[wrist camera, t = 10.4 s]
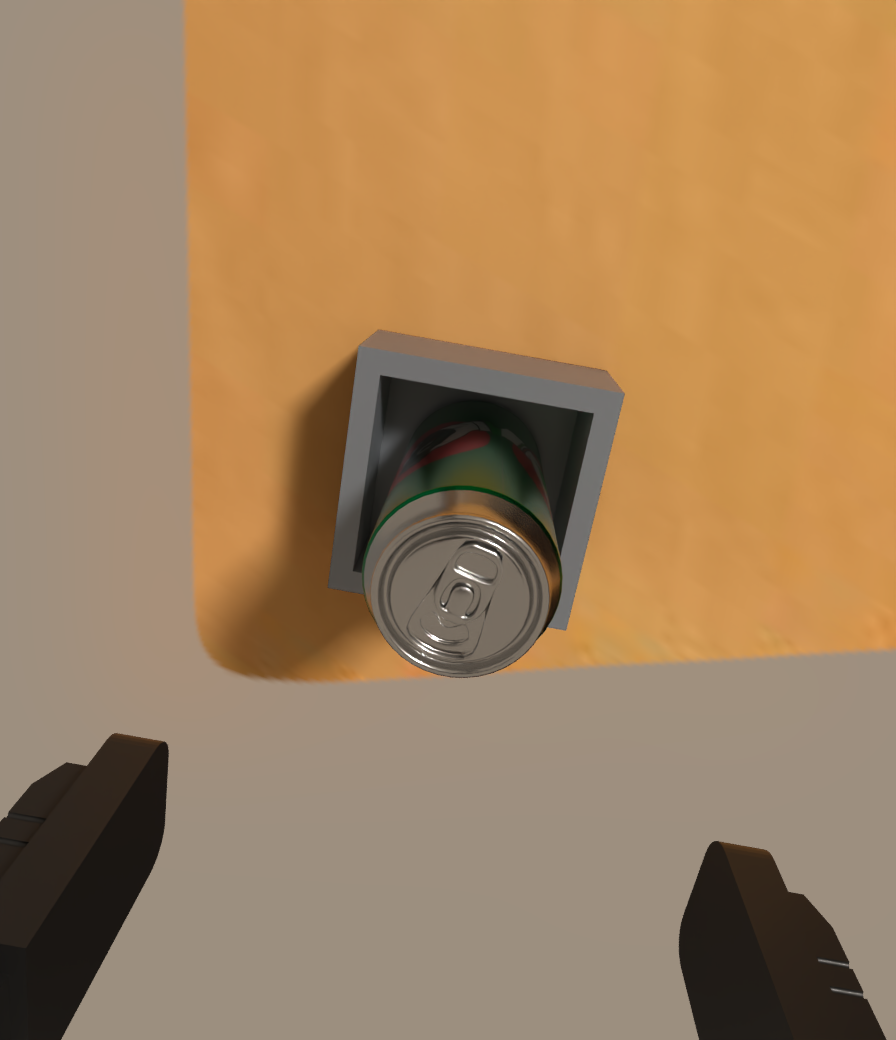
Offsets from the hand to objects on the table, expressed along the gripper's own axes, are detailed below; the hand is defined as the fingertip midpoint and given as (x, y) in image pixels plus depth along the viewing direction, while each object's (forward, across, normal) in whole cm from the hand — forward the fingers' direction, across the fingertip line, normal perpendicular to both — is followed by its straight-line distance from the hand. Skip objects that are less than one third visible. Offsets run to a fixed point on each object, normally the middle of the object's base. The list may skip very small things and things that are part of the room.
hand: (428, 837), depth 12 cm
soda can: (+20, 0, 0) cm, 20 cm away
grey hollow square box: (+21, 0, 0) cm, 21 cm away
